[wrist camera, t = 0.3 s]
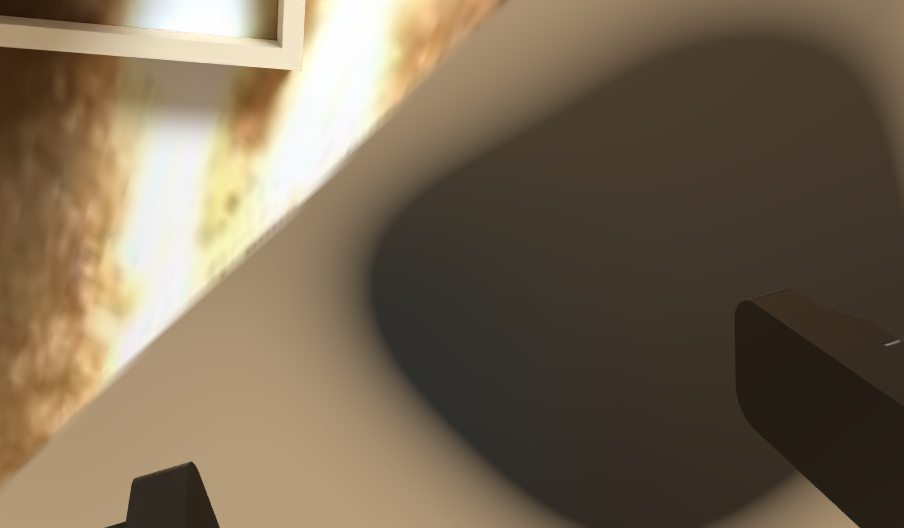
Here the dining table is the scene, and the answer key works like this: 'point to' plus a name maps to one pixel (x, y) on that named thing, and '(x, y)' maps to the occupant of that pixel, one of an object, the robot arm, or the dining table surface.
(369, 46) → the dining table surface
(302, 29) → the cream white bin
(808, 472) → the robot arm
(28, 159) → the dining table surface
